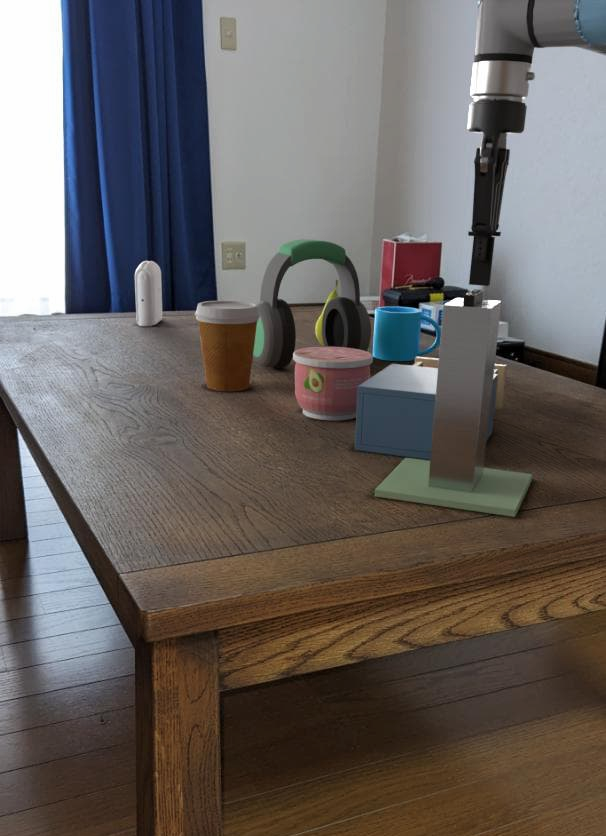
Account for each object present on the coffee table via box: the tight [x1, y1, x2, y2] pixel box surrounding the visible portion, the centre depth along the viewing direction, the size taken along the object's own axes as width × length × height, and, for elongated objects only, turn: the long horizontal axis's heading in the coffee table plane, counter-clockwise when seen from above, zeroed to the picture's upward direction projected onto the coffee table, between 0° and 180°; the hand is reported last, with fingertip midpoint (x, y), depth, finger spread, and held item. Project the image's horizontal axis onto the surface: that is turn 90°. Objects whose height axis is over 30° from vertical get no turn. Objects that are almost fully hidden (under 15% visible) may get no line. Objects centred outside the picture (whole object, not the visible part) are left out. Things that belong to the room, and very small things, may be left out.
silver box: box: [428, 288, 502, 493], centre depth 89 cm, size 4×6×19 cm
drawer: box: [411, 356, 508, 410], centre depth 120 cm, size 18×12×6 cm
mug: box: [372, 305, 441, 362], centre depth 158 cm, size 12×8×8 cm
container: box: [292, 346, 374, 421], centre depth 119 cm, size 10×10×8 cm
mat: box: [374, 457, 533, 518], centre depth 93 cm, size 14×12×1 cm
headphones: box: [253, 238, 372, 369], centre depth 147 cm, size 19×11×20 cm, turn 114°
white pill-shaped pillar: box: [134, 260, 163, 327], centre depth 185 cm, size 10×4×12 cm, turn 178°
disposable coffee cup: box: [194, 300, 260, 392], centre depth 132 cm, size 10×10×12 cm
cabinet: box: [354, 363, 498, 461], centre depth 108 cm, size 15×14×8 cm
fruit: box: [314, 279, 340, 347], centre depth 164 cm, size 6×6×12 cm
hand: (479, 284), depth 128 cm, fingers closed
